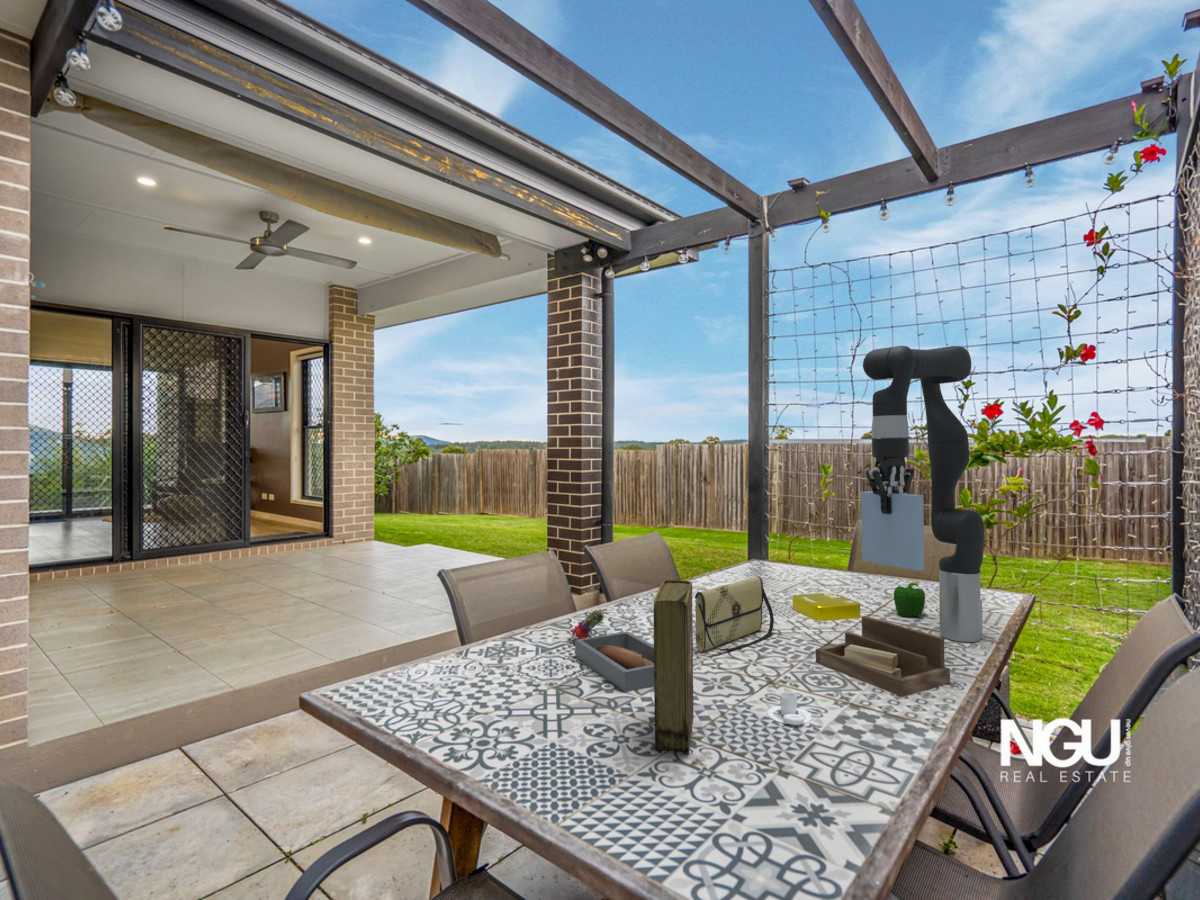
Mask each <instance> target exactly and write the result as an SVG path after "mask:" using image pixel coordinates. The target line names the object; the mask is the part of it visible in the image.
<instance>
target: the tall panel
mask: <svg viewBox="0 0 1200 900" xmlns="http://www.w3.org/2000/svg"><path fill="white" fill-rule="evenodd" d="M860 498H861V499H860V503H861V504H860V506H861V507H860V509H861V513H860V515H861V521H860V522H861V561H863V562H869V563H875V564H879V565H886V566H891V567H896V568H900V569H901V568H902V569H907V570H912V571H921V570H922V571H923V570H925V530H924V529H925V525H924V524H925V523H924V520H925V519H924V515H925V514H924V510H925V509H924V495H922V494H914V493H913V494H912V493H911V494H909V493H904V494H899V493H891V500H892V513H891V514H883V513H882V512H881V498H880V496H879V495H877V494H873V491H869V490H868V491H861V492H860Z"/></svg>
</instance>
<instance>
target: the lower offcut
mask: <svg viewBox="0 0 1200 900" xmlns="http://www.w3.org/2000/svg"><path fill="white" fill-rule="evenodd" d="M842 657H844V658H845V656H842ZM860 664H862V663H860ZM863 665H866V666H869V667H871V668H874V669H877V670H879V671H882V672H885V673H887V674H890V675H893V676H895V677H898V678H901V669H899V668H894V669H893V670H889V669H885V668H880V667H876V666H871V665H867V664H863Z"/></svg>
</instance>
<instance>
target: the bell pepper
mask: <svg viewBox="0 0 1200 900" xmlns="http://www.w3.org/2000/svg"><path fill="white" fill-rule="evenodd" d="M912 586H916V587H918V586H919V582H915V581H912V582H909V583H908V585H907V586H906V587H903V586H900V585H898V586H897V587H896V588H895V589H894V590H893V602H894V605H895V609H896V612H897V614H898V616H899V615H900V616H901V617H914V618H916V617H917V618H918V617H920V616H921V615H923V611H924V609H925V608H924V607H925V605H926V593H925V591H924V589H921V588H914V587H912Z"/></svg>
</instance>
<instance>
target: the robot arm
mask: <svg viewBox="0 0 1200 900" xmlns="http://www.w3.org/2000/svg"><path fill="white" fill-rule="evenodd" d="M862 368H863V372H864V373H865V375H866V376H867V377H868V378H869V379H871V380H873V381H880V380H881V381H882V380H889V379H890V380H891V379H892V381H891V382H890V385H889V386H887V387H886V388H883V389H879V390H877V391H875V392H874V393H873V394H872V420H871V456H872V458H875V462H874V467H873V468H872V469H870V470H869V469H867V470H866V471H865V474H866V478H867V480H868V483H869V486H870V489H871V492H873V494H877V495H879V496H880V498H881V512H882V513H883V514H891V513H892V500H891V493H899V494H909V491H910V488H911V485H912V481H913V477H914V474H915V469H914V468H909V467H908V466H907V463H906V460H905V458H908V457H909V455H910V445H909V444H910V441H909V440H910V437H909V435H910V433H909V428H910V427H909V422H908V395H909V390H910V386H911V381H912V380H913V379H914V380H915V379H918V380H919V379H920V384H921V385H920V386H921V390H922V395H923V401H924V409H925V417H926V418H925V419H926V432H927V435H926V437H927V447H928V449H927V450H928V458H929V466H930V467H929V468H930V482H931V486H930V487H931V496H930V497H931V499H930V500H931V504H930V505H931V507H930V524H931V525H930V526H931V530H932V534H933V536H934V538H935V539H936V540H937V541H938V542H941V543H946V544H952V545H956V546H955V552H954V553H953V554H951V555H949V556H944V557H941V558H940V559H939V562H938V565H939V567H938V570H939V571H938V572H939V574H938V578H939V581H938V582H939V583H938V584H939V586H938V588H939V593H938V595H939V635H940V636H941V638H944V639H947V640H950V641H956V642H962V643H976V642H980V641H981V640H982V639H981V638H983V601H982V599H981V568H982V567H981V566H982V564H983V563H982V562H983V559H984V542H985V524H984V520H983V517H982V515H981V514H980V513H979V512H978V511H975V510H969V509H963V508H961V509H960V508H956V505H955V504H956V503H955V492H956V488H957V484H958V483H959V480H960V479H961V477H962V475H963V473H964V472H965V470H966V468H967V466H968V463H969V461H970V446H969V444H970V443H969V434H968V433H969V432H968V431H967V429H966V427H965V426H964V425H963V423H962V422H961V420H960V419H959V418H958V417H957V416H956V415H955V414H954V412H953V411H952V410H951V409H950V408H949V406H948V405H947V403H946V401H945V399H944V396H943V393H942V390H941V385H943V384H950V383H957V382H961V381H964V380H966V379H967V378H969V376H970V374H971V370H972V358H971V354H970V352H969V350H967V349H966V347H964V346H959V345H951V346H950V345H949V346H944V347H939V348H931V349H920V348H919V349H918V348H911V347H909V346H906V345H897V346H889V347H882V348H876V349H872V350H871V351H868V353H866V354H865V357H864V358H863V362H862Z"/></svg>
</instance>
